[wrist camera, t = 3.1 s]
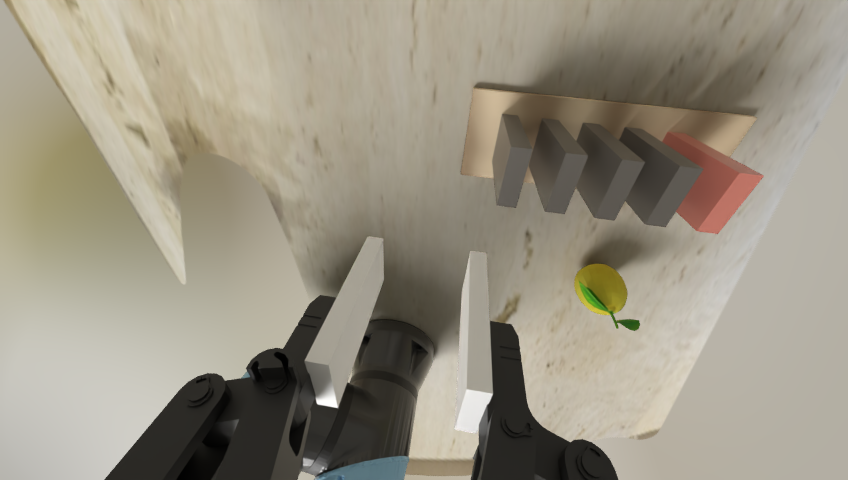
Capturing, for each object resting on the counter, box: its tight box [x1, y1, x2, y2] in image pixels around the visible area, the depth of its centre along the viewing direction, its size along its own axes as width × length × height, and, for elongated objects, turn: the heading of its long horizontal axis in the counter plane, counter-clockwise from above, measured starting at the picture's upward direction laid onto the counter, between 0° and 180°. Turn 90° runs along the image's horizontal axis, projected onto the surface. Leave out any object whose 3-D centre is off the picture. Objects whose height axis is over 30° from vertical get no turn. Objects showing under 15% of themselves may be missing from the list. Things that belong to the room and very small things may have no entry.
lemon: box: [574, 264, 640, 331], centre depth 37 cm, size 7×6×10 cm
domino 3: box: [576, 123, 645, 220], centre depth 27 cm, size 2×5×10 cm, turn 177°
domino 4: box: [619, 127, 703, 227], centre depth 27 cm, size 2×5×10 cm, turn 176°
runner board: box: [461, 87, 757, 189], centre depth 31 cm, size 26×9×1 cm, turn 86°
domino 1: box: [492, 114, 533, 208], centre depth 28 cm, size 2×5×10 cm, turn 176°
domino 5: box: [662, 132, 763, 234], centre depth 27 cm, size 2×5×10 cm, turn 176°
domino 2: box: [528, 118, 588, 214], centre depth 28 cm, size 2×5×10 cm, turn 176°
